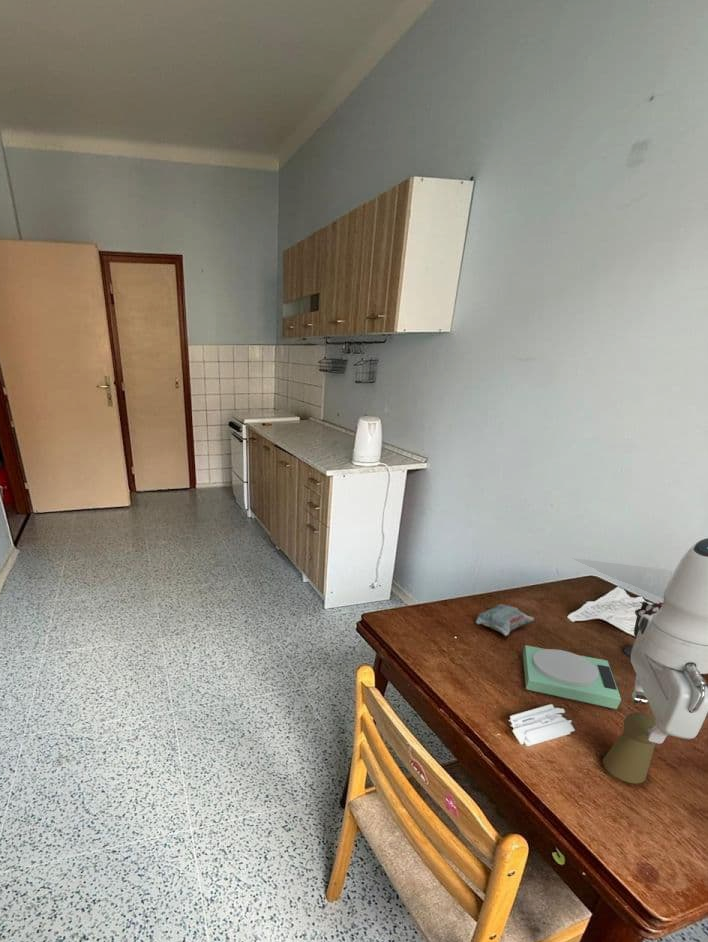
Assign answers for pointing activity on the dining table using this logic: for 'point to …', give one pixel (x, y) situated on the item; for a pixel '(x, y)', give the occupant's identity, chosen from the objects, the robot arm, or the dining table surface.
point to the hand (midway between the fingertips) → (645, 719)
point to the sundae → (645, 610)
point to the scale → (570, 676)
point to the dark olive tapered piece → (632, 750)
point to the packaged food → (503, 618)
